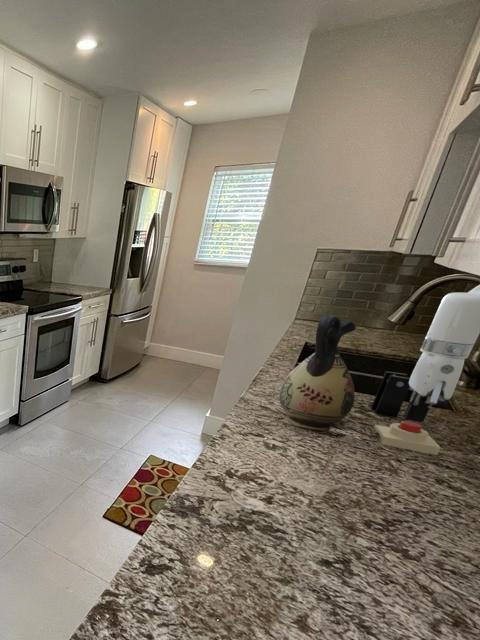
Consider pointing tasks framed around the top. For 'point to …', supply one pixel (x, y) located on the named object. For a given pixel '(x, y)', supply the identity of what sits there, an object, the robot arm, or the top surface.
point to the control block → (407, 439)
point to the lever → (440, 401)
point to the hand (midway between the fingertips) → (412, 419)
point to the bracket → (391, 394)
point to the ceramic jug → (320, 381)
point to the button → (410, 426)
